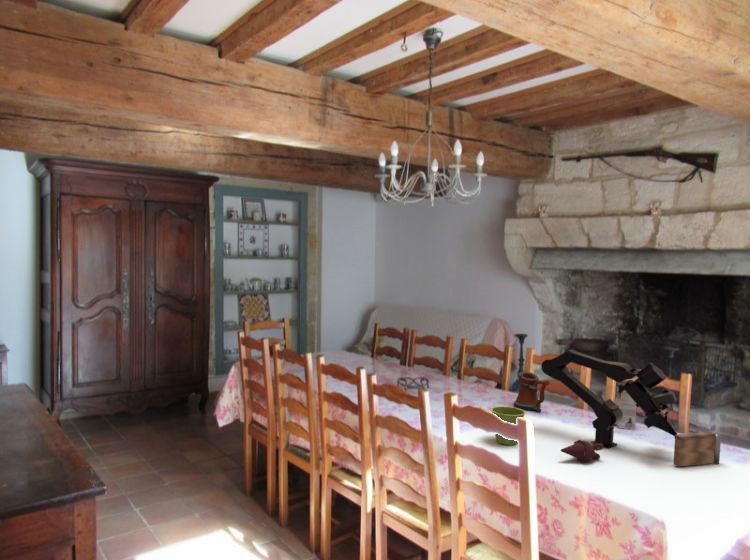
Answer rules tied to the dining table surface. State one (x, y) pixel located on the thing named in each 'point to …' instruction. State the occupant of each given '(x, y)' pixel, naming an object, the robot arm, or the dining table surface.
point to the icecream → (583, 450)
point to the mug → (530, 392)
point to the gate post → (717, 448)
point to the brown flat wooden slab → (694, 448)
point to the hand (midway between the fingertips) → (676, 435)
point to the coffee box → (625, 409)
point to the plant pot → (509, 416)
